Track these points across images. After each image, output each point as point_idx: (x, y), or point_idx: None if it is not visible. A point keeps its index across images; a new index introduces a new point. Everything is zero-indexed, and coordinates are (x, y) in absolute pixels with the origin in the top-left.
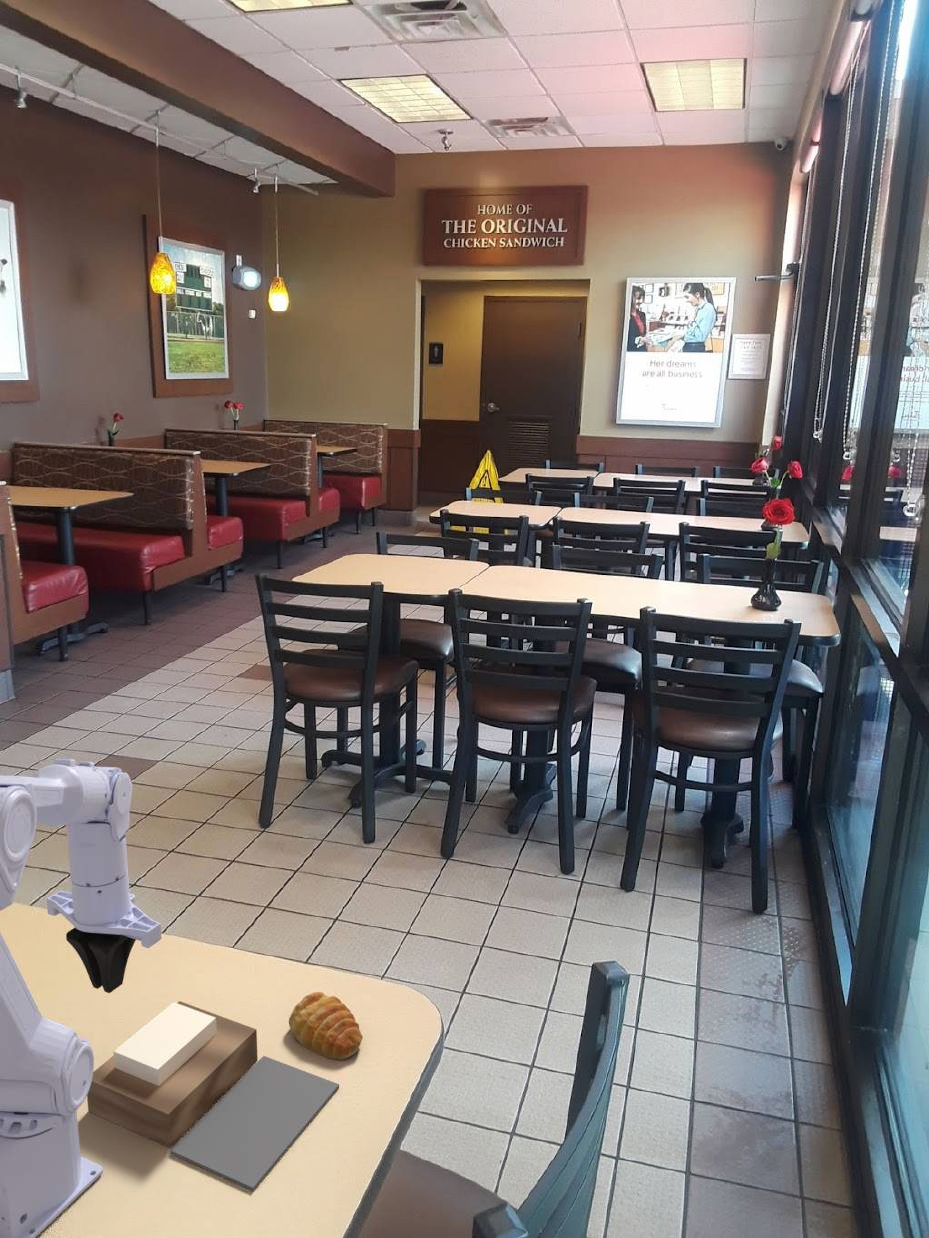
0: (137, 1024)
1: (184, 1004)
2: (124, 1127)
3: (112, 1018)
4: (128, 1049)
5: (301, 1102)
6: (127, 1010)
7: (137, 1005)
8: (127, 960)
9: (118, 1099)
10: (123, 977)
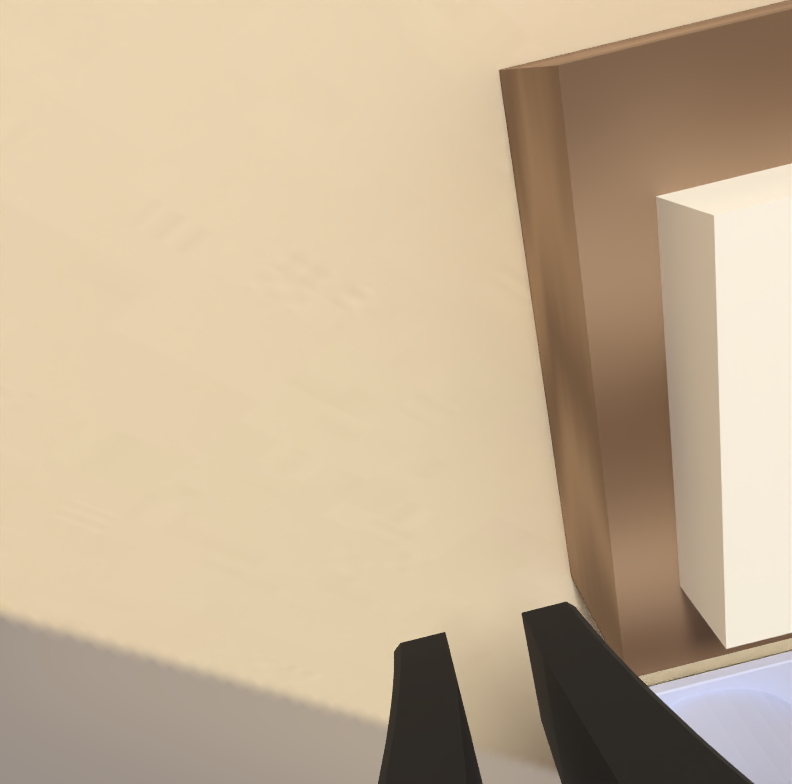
0: (274, 194)
1: (613, 66)
2: None
3: (133, 252)
4: (784, 603)
5: None
6: (123, 161)
7: (118, 95)
8: (723, 757)
9: None
10: (595, 632)
